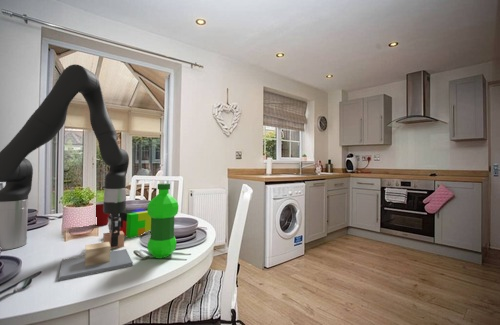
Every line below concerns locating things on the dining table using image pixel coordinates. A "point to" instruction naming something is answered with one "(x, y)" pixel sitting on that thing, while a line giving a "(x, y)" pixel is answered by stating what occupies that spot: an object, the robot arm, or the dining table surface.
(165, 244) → the plastic bottle
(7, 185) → the robot arm
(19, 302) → the dining table surface
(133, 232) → the puzzle toy
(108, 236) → the terracotta block
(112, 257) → the baseplate
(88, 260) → the beech block
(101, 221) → the plastic cup
